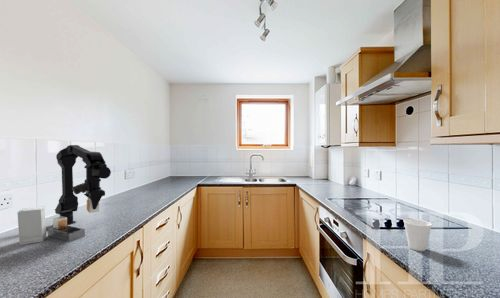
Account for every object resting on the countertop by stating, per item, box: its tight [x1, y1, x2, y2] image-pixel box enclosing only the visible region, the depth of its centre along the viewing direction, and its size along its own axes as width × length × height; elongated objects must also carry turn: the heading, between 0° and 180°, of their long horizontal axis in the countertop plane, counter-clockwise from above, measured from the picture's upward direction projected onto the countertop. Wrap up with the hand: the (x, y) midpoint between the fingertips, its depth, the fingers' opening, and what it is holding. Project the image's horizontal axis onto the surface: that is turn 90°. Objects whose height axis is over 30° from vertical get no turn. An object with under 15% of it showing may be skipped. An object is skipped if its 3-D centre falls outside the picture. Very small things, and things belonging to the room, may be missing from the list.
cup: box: [403, 218, 433, 252], centre depth 103 cm, size 10×10×11 cm
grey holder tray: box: [47, 216, 86, 242], centre depth 117 cm, size 16×7×8 cm, turn 66°
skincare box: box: [17, 206, 47, 246], centre depth 111 cm, size 8×6×15 cm
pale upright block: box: [86, 197, 100, 214], centre depth 124 cm, size 4×4×7 cm
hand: (93, 208), depth 124 cm, fingers closed on pale upright block, 4 cm apart
